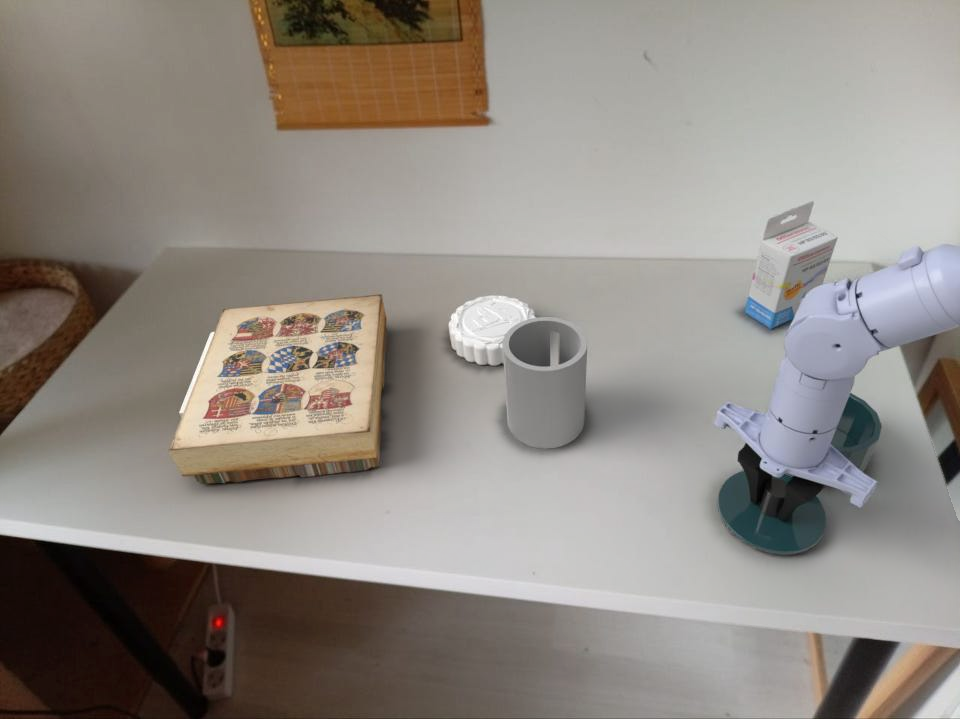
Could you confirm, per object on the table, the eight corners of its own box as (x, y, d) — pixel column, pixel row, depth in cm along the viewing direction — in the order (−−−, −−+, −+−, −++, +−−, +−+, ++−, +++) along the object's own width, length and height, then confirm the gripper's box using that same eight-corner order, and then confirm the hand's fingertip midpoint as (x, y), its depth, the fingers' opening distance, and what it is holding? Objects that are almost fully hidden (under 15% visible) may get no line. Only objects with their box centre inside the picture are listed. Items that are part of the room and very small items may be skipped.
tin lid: (845, 543, 66) (858, 516, 63) (749, 569, 65) (758, 543, 62) (785, 466, 74) (795, 439, 71) (698, 487, 72) (704, 461, 70)
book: (220, 339, 99) (163, 491, 77) (205, 303, 95) (141, 453, 73) (389, 323, 99) (379, 470, 77) (382, 286, 95) (370, 431, 73)
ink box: (771, 331, 91) (796, 235, 81) (743, 312, 94) (764, 218, 85) (816, 310, 94) (846, 214, 84) (787, 292, 97) (813, 198, 87)
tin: (885, 473, 72) (902, 438, 69) (803, 494, 71) (816, 460, 67) (829, 411, 79) (842, 377, 76) (754, 429, 78) (763, 396, 74)
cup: (516, 454, 78) (511, 377, 70) (501, 400, 85) (495, 324, 77) (593, 440, 78) (597, 362, 71) (572, 388, 85) (574, 311, 77)
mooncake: (519, 304, 99) (518, 283, 97) (550, 353, 91) (550, 331, 88) (440, 324, 97) (437, 303, 95) (465, 376, 88) (462, 355, 86)
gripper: (705, 394, 62) (686, 488, 71) (866, 482, 53) (822, 576, 62) (747, 356, 65) (724, 451, 74) (905, 433, 57) (858, 530, 66)
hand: (771, 505), depth 68 cm, fingers closed on tin lid, 2 cm apart
